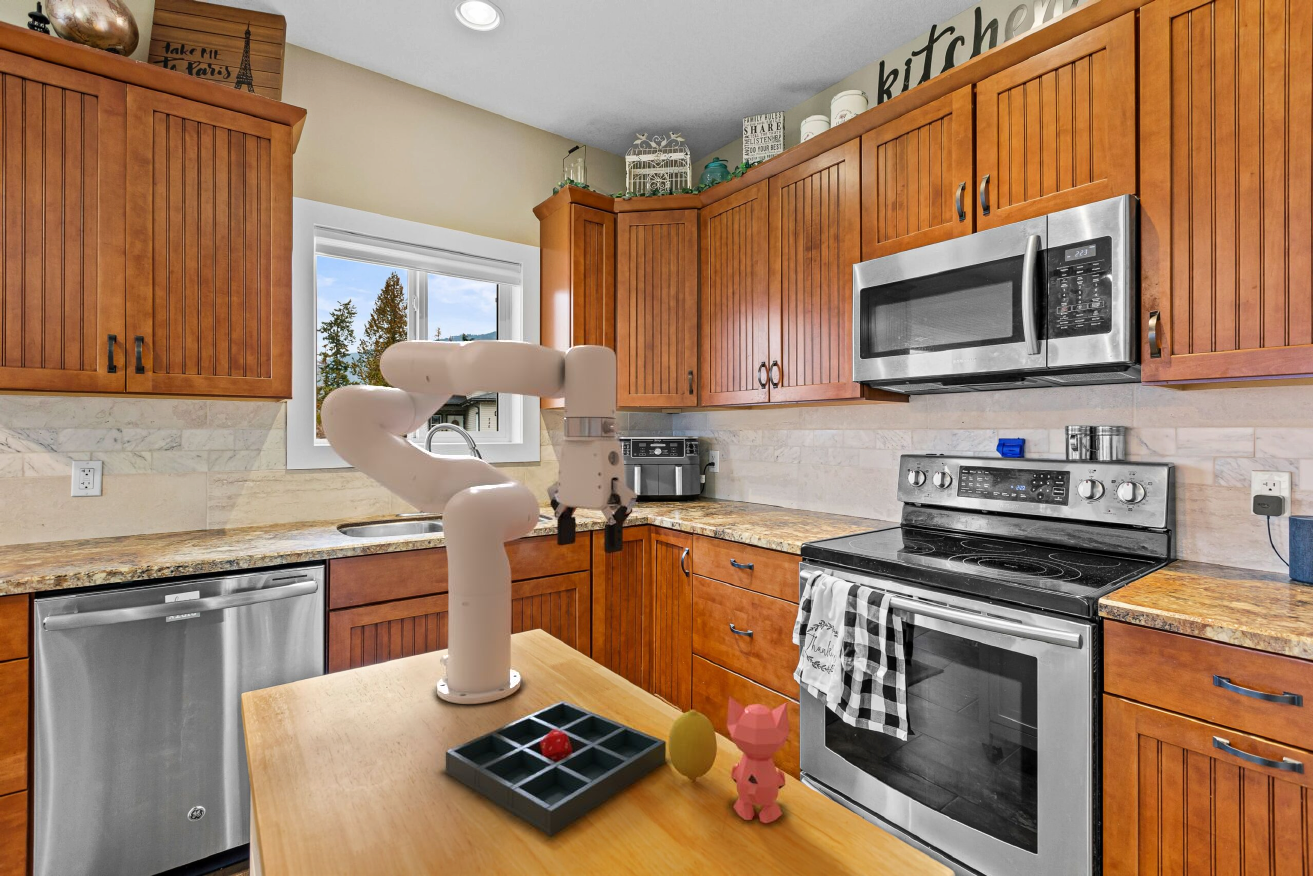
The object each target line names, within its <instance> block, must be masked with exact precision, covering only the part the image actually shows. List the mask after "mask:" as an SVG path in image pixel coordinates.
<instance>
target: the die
mask: <svg viewBox="0 0 1313 876" xmlns="http://www.w3.org/2000/svg"><path fill="white" fill-rule="evenodd" d="M540 745H541V749H542V753H543V756H544V757H546V758H548V759H550V760H552V761H554V762H558V761H560V760H562V759H564V758H566V757H567V756H568V755H569V754H570V753H571V752H572V748H571V745H570V742H569V739H568V736H567V734H566V733H563V732H561V731H558V730H556V729H553V730H552V731H551V732H550V733H549V734H548V735H547V736H546V737H545V738H544V739H543V740H542V741H541V742H540Z"/></svg>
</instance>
